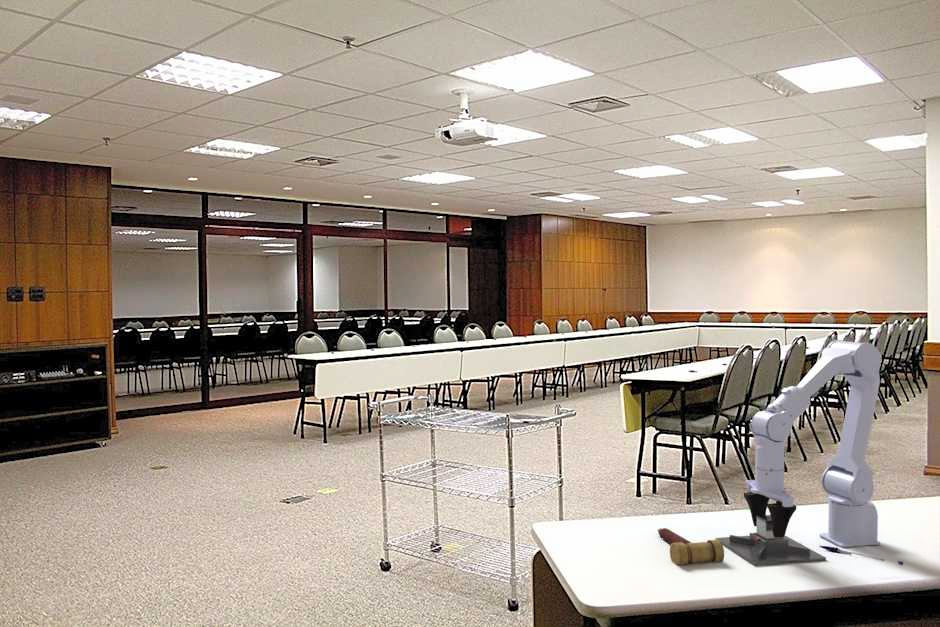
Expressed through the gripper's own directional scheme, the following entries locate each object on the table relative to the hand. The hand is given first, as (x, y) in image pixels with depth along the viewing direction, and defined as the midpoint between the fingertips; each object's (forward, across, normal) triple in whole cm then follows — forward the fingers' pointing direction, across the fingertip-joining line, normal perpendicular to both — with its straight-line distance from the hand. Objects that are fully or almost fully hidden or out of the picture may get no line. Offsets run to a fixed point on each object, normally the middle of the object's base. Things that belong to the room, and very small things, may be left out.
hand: (768, 531), depth 167 cm
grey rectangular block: (+4, 0, 0) cm, 4 cm away
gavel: (+5, -5, -18) cm, 19 cm away
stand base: (+4, 0, 0) cm, 4 cm away
